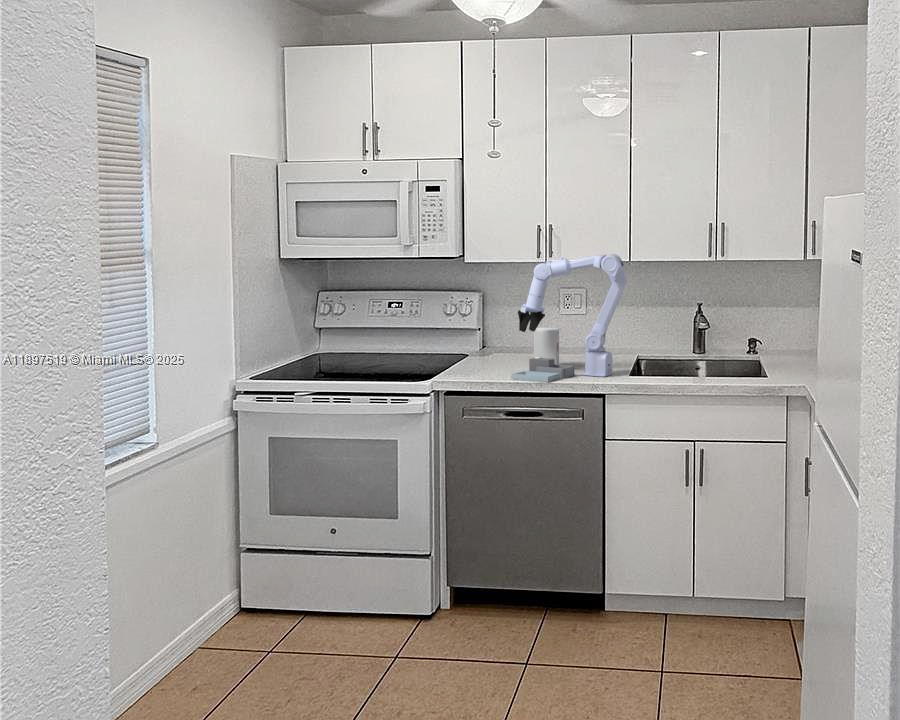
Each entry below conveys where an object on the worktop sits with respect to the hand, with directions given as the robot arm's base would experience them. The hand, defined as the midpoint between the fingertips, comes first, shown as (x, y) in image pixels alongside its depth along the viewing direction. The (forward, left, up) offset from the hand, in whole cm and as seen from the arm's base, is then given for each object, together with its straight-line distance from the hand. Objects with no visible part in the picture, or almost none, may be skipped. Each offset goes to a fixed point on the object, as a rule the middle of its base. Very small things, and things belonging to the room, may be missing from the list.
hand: (526, 331), depth 423 cm
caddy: (-7, +2, -16) cm, 17 cm away
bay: (-12, +2, -16) cm, 20 cm away
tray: (-10, +12, -16) cm, 22 cm away
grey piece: (0, -15, -16) cm, 22 cm away
